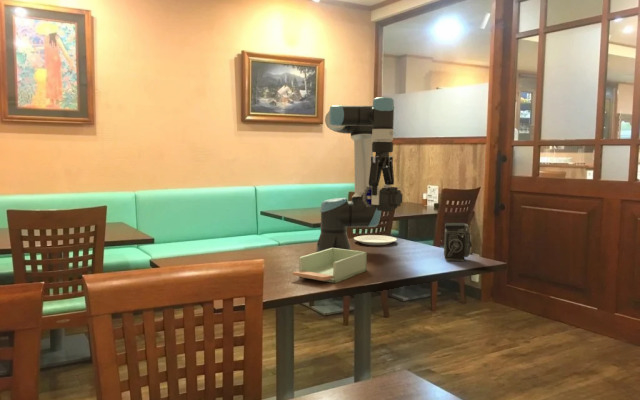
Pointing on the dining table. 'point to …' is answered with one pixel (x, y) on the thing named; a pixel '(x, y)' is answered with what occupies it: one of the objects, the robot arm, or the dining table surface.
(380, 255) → the dining table surface
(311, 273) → the panel
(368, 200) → the toy
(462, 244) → the camera
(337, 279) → the tray
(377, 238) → the plate
